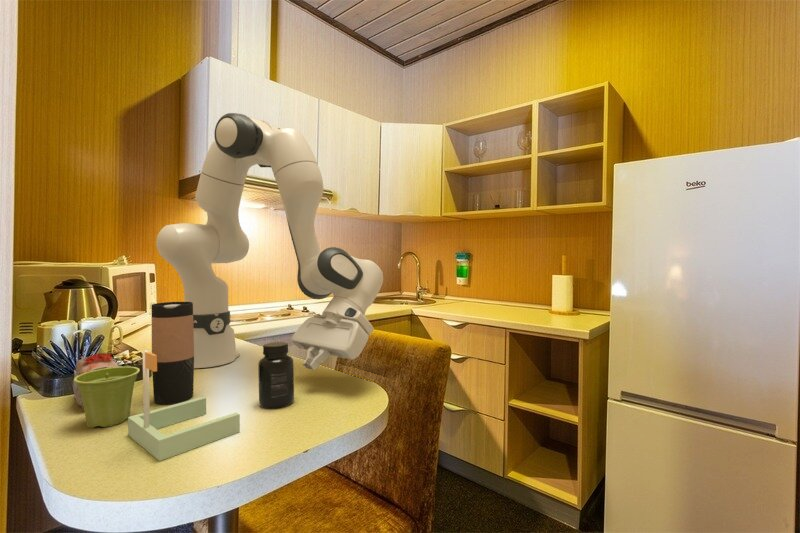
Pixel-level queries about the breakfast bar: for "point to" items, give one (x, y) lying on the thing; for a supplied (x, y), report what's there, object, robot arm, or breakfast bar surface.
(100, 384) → the plant pot
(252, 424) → the breakfast bar surface
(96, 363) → the food item
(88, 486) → the breakfast bar surface
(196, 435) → the u-shaped flag stand
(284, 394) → the supplement bottle
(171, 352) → the travel mug
